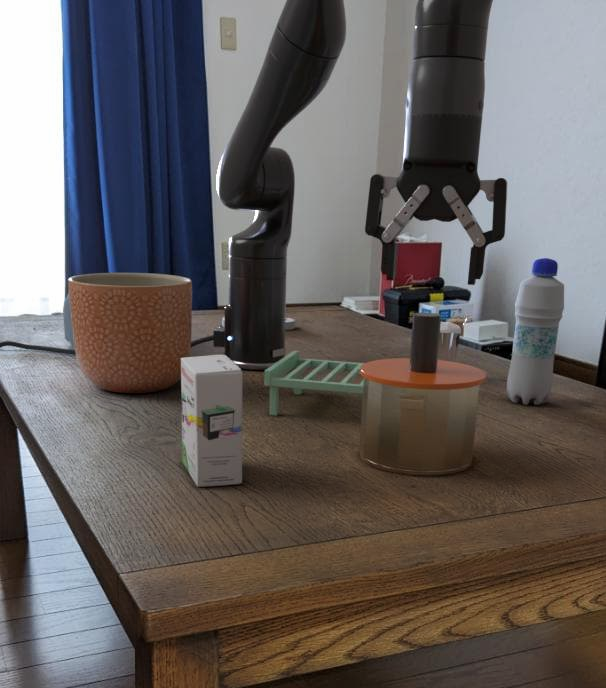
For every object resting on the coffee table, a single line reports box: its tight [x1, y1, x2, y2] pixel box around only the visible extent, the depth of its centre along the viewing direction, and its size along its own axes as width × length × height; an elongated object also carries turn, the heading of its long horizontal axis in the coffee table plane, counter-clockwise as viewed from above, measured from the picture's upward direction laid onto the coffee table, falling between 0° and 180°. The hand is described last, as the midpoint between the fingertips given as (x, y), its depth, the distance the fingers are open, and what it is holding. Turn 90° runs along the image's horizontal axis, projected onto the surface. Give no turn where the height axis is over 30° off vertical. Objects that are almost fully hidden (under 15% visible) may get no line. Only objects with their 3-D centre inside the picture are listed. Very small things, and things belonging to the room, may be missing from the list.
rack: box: [263, 350, 395, 417], centre depth 122 cm, size 15×15×6 cm
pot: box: [359, 377, 481, 477], centre depth 100 cm, size 13×18×10 cm
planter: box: [67, 272, 193, 394], centre depth 128 cm, size 17×17×15 cm
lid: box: [359, 312, 487, 390], centre depth 98 cm, size 14×14×7 cm
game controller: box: [221, 316, 296, 331], centre depth 182 cm, size 15×13×2 cm
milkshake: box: [438, 317, 469, 362], centre depth 140 cm, size 5×5×10 cm
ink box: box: [180, 354, 243, 488], centre depth 92 cm, size 8×5×12 cm, turn 17°
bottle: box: [506, 257, 565, 406], centre depth 127 cm, size 7×7×20 cm
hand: (430, 282), depth 95 cm, fingers open, 8 cm apart
